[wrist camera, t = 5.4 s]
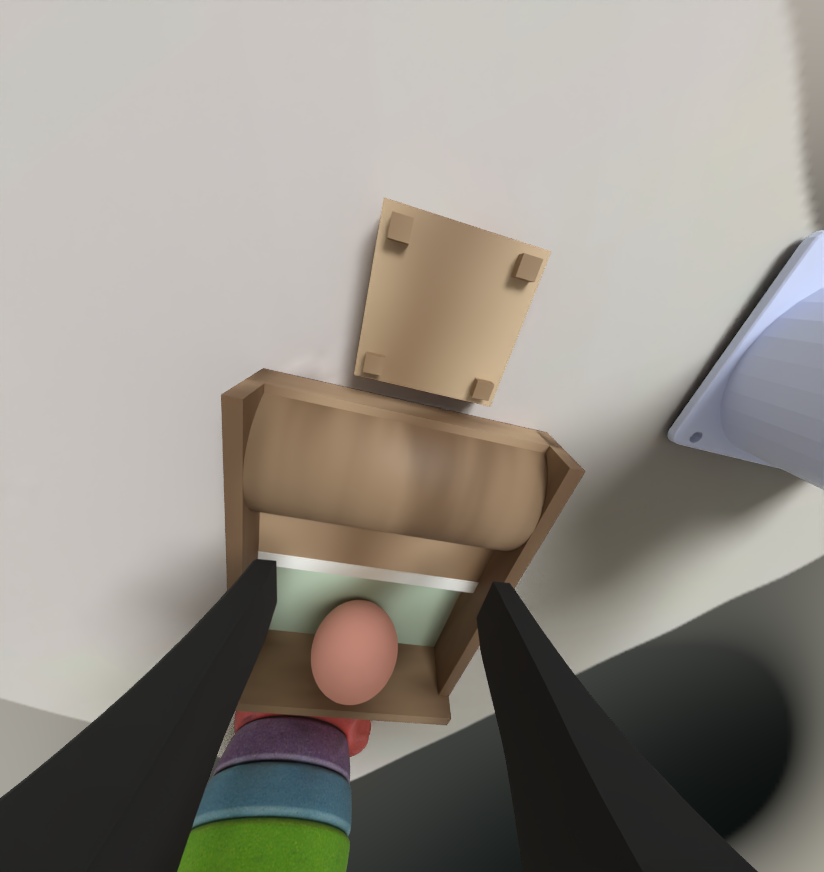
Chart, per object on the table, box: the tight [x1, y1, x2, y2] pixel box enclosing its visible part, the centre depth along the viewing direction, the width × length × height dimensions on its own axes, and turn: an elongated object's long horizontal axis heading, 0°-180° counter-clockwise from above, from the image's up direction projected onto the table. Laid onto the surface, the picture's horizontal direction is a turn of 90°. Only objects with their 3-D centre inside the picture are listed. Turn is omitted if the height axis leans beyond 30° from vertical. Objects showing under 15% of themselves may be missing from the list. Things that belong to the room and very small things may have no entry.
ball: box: [311, 600, 398, 705], centre depth 16 cm, size 4×4×4 cm
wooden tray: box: [221, 368, 585, 725], centre depth 15 cm, size 12×17×7 cm
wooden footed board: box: [354, 198, 551, 407], centre depth 10 cm, size 5×5×2 cm
